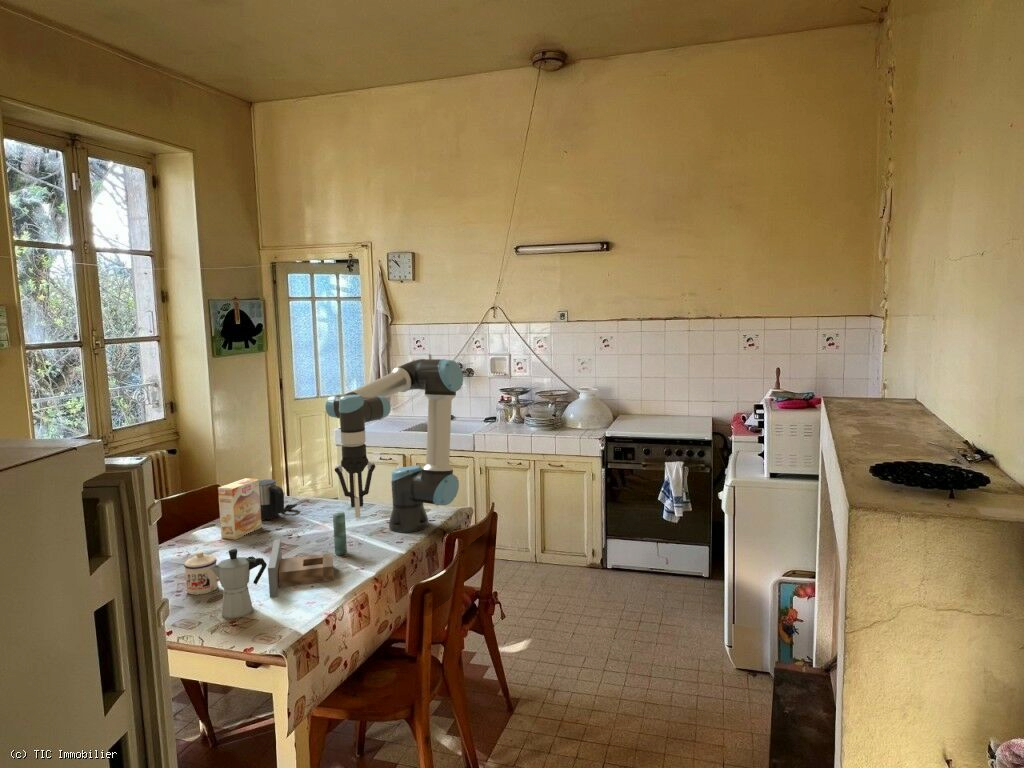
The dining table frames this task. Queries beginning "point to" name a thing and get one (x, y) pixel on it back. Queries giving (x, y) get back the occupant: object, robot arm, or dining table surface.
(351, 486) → the robot arm
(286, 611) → the dining table surface
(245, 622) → the dining table surface
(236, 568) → the coffee maker
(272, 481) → the milk frother
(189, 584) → the teacup with lid
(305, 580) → the socket block
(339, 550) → the dowel
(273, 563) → the wall
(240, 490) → the coffeecake box
